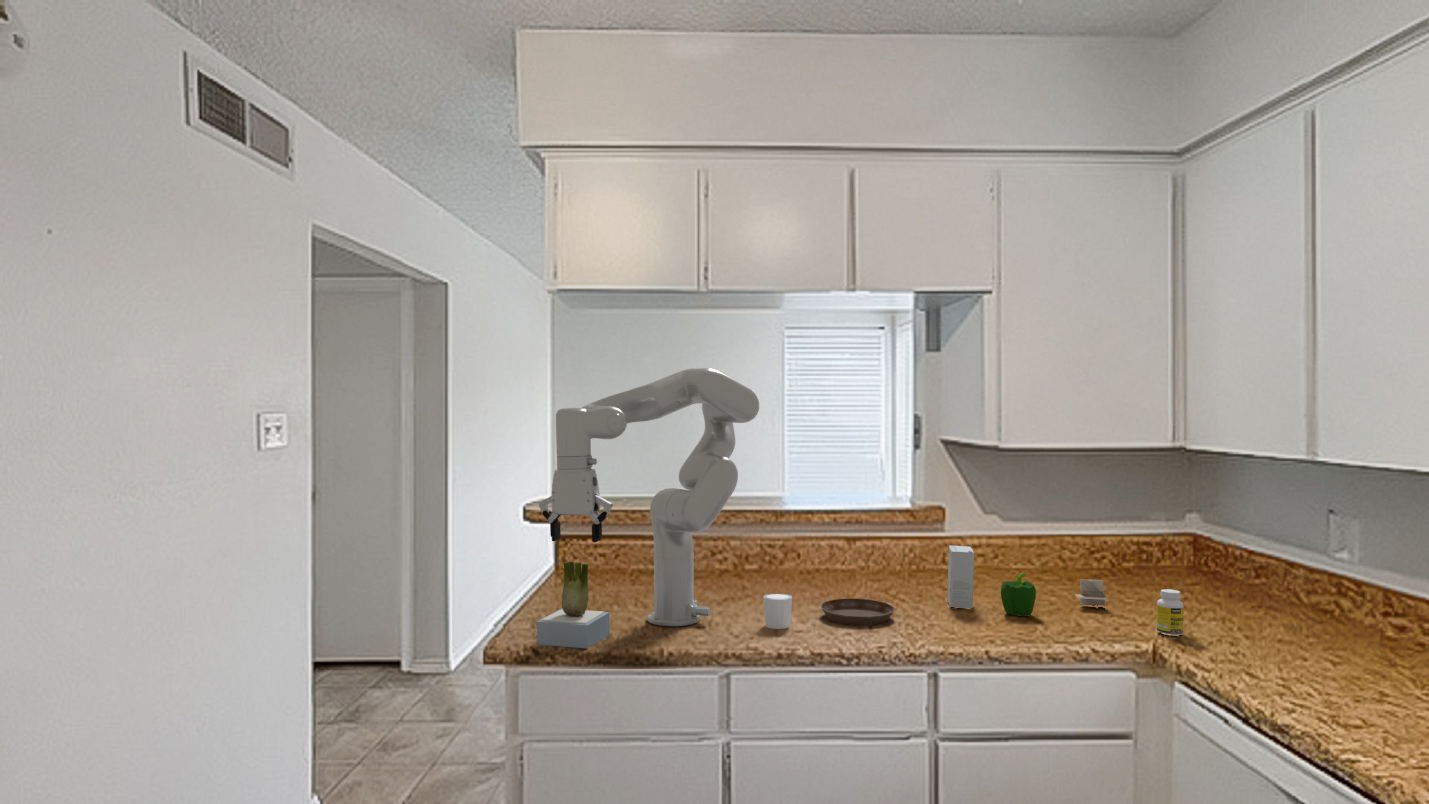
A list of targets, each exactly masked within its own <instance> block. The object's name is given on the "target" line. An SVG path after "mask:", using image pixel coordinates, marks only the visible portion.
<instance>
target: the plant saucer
mask: <svg viewBox="0 0 1429 804" xmlns="http://www.w3.org/2000/svg"><path fill="white" fill-rule="evenodd" d="M820 608H821V610H822V612H823V613H824V614H825V615H826V617H827V618H828V619H829V620H831V621H832V622H835V623H839V624H844V625H851V626H856V625H857V626H872V625H879V624H882V623H885V622H887V620H889V619H890V617H891V616H892V615H893V613H894V612H895V607H894V606H893V605H891V604H889V603H888V602H887V603H886V602H883V601H879V600H875V599H868V598H852V597H851V598H836V599H831V600H827V601H824V602H822V603H821V604H820Z"/></svg>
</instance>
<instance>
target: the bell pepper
mask: <svg viewBox="0 0 1429 804" xmlns="http://www.w3.org/2000/svg"><path fill="white" fill-rule="evenodd" d="M1025 577H1026V573H1024V572H1021V573H1019V574H1018V576H1017V579H1015V580H1012V581H1010V580H1004V581H1003V582H1002V583H1001V585H1000V586H1001V587H1000V599H1001V602H1002V606H1003V610H1004V612H1005V613H1006V614H1007V613H1008V614H1007V615H1009V614H1010V615H1011V616H1018V615H1021V616H1020V617H1028V616H1027V615H1029V616H1031V615H1032V613H1033V611H1034V607H1035V602H1036V597H1037V596H1036V594H1037V589H1036V587H1035V585H1034V584H1032V583H1031V581H1029V580H1027V581H1023V582H1022V578H1025Z"/></svg>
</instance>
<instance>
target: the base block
mask: <svg viewBox="0 0 1429 804" xmlns="http://www.w3.org/2000/svg"><path fill="white" fill-rule="evenodd" d="M609 635H610V612H609V611H608V612H607V611H603V610H602V611H601V610H599V611H598V610H587V609H586V611H585V614H583V615H579V616H571V615H567V614H565V613H564V611H563V609H562V608H560V609H558V610H556V611H554V612H552V613H550V614H548V615H547V616H544V617H541V618H540V619H539V620H537V621H536V645H539V646H552V647H565V648H575V649H590V648H591V647H593V646H594V645H596V644H597V643H599V642H600V641H602V640H604V639H605V638H606V637H608V636H609Z"/></svg>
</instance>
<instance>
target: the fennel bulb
mask: <svg viewBox="0 0 1429 804" xmlns="http://www.w3.org/2000/svg"><path fill="white" fill-rule="evenodd" d="M563 573H564V574H563V577H564V582H563V586H562V587H563V589H562V593H561V594H562V595H561V609H563V611H564V613H565V614H567V615H571V616H579V615H583V614H585V611H586V610H587V608H588V603H589V576H588V574H589V563H582V562H579V561H577V562H575V561H572V560H571V561H565V562H563Z"/></svg>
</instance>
